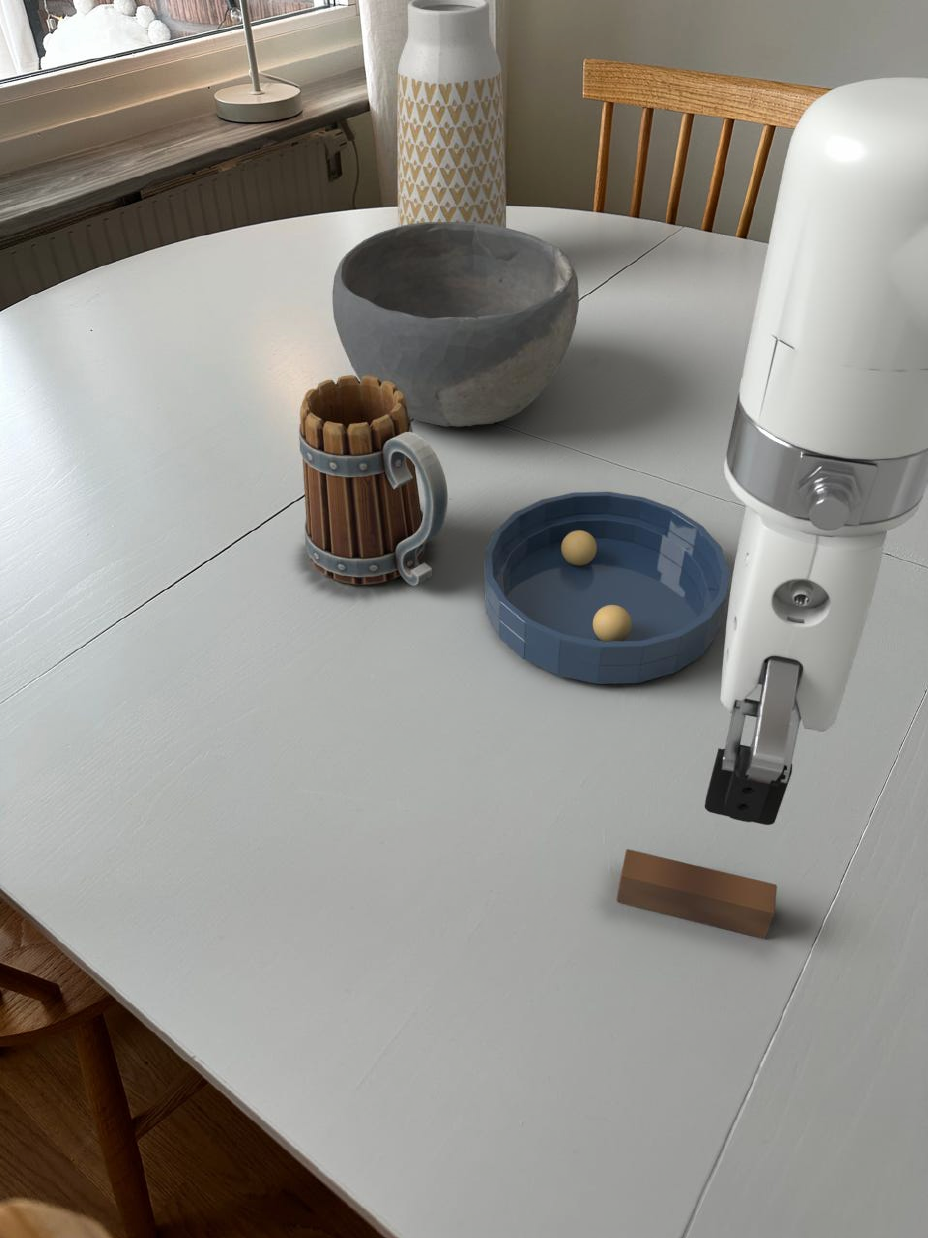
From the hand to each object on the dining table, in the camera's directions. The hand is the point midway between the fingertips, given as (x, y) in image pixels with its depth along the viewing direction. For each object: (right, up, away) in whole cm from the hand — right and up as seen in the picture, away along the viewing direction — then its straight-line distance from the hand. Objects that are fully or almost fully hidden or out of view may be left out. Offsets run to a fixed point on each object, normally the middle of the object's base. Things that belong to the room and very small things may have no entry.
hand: (747, 737), depth 49 cm
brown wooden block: (0, -12, +11) cm, 16 cm away
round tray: (-3, +7, +32) cm, 33 cm away
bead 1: (-5, +12, +34) cm, 36 cm away
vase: (-16, +51, +80) cm, 96 cm away
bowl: (-15, +29, +56) cm, 65 cm away
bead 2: (-3, +6, +27) cm, 27 cm away
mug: (-21, +11, +36) cm, 43 cm away
